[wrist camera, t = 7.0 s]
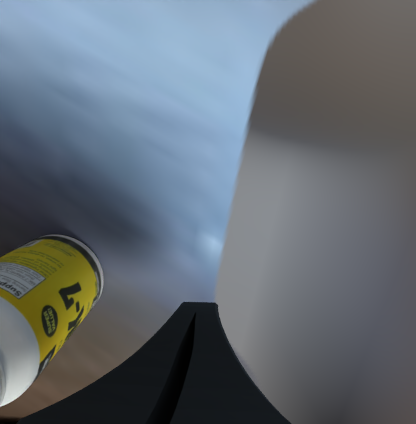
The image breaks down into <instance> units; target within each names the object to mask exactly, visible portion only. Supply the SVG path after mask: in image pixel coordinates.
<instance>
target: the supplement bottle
mask: <svg viewBox="0 0 416 424" xmlns="http://www.w3.org/2000/svg"><path fill="white" fill-rule="evenodd" d="M102 289H103V271H102V268H101V265H100V262H99V260H98V259H97V257H96V256H95V254H94V253H93V252H92V251H91V250H90V249H89V248H88V247H87V246H86V245H85V244H83V243H82V242H80V241H78V240H76V239H74V238H72V237H68V236H64V235H46V236H42V237H39V238H36V239H34V240H32V241H31V242H28V243H26V244H25V245H23V246H21V247H19V248H17V249H15V250H13V251H12V252H10V253H8V254H6V255H4V256H2V257H0V406H3V405H6V404H8V403H10V402H12V401H13V400H15V399H16V398H18V397H19V396H20V395H22V394H23V393H24V392H25V391H26V390H27V389H28V387H29V386H30V385H31V384H32V383H33V382H34V381H35V380H36V379H37V377H38V376H39V375H40V373H41V372H42V371H43V369H44V368H45V367H46V366H47V365H48V363H49V362H50V360H51V359H52V358H53V357H54V355H55V354H56V353H57V352H58V350H59V349H60V348H61V347H62V346H63V344H64V343H65V342H66V341H67V340H68V339H69V337H70V336H71V334H72V333H73V332H74V330H75V329H76V328H77V327H78V325H79V324H80V323H81V322H82V320H83V319H84V318H85V317H86V315H87V314H88V313H89V312H90V311H91V309H92V308H93V307H94V305H95V304H96V303H97V301H98V300H99V298H100V295H101V293H102Z"/></svg>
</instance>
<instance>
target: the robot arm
mask: <svg viewBox="0 0 416 424" xmlns="http://www.w3.org/2000/svg"><path fill="white" fill-rule="evenodd" d="M17 424H291V423H290V422H289V421H288V420H287V419H286V418H284V417H283V416H282V415H281V414H280V413H279V411H278V410H277V409H276V408H275V407H274V406H273V405H272V404H271V403H270V402H269V401H268V399H267V398H266V397H265V396H264V395H263V393H262V392H261V391H260V390H259V389H258V387H257V386H256V385H255V384H254V382H253V381H252V380H251V378H250V377H249V375H248V374H247V373H246V371H245V370H244V368H243V366H242V365H241V363H240V362H239V360H238V358H237V357H236V355H235V353H234V351H233V349H232V347H231V345H230V343H229V341H228V339H227V337H226V334H225V332H224V329H223V327H222V324H221V321H220V317H219V313H218V305H217V304H216V303H208V302H183V303H182V304H181V305H180V306H179V308H178V309H177V310H176V311H175V312H174V314H173V315H172V316H171V317H170V318H169V319H168V321H167V322H166V323H165V324H164V325H163V326H162V327H161V328H160V329H159V330H158V332H157V333H156V334H155V335H154V336H153V337H152V338H151V339H149V340H148V341H147V342H146V343H145V344H144V345H143V346H142V347H141V348H140V349H139V350H138V351H137V352H135V353H134V354H133V355H132V356H131V357H129V358H128V359H127V360H126V361H124V362H123V363H122V364H120V365H119V366H118V367H116V368H115V369H113V370H112V371H110V372H109V373H107V374H106V375H104V376H103V377H101V378H100V379H98V380H97V381H95V382H93V383H92V384H90V385H88V386H87V387H85V388H83V389H82V390H80V391H78V392H76V393H74V394H72V395H71V396H69V397H67V398H65V399H63V400H61V401H59V402H57V403H55V404H53V405H51V406H48V407H46V408H44V409H42V410H40V411H38V412H35V413H33V414H31V415H29V416H26V417H24V418H22V419H20V420H19V421H18V423H17Z"/></svg>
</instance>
